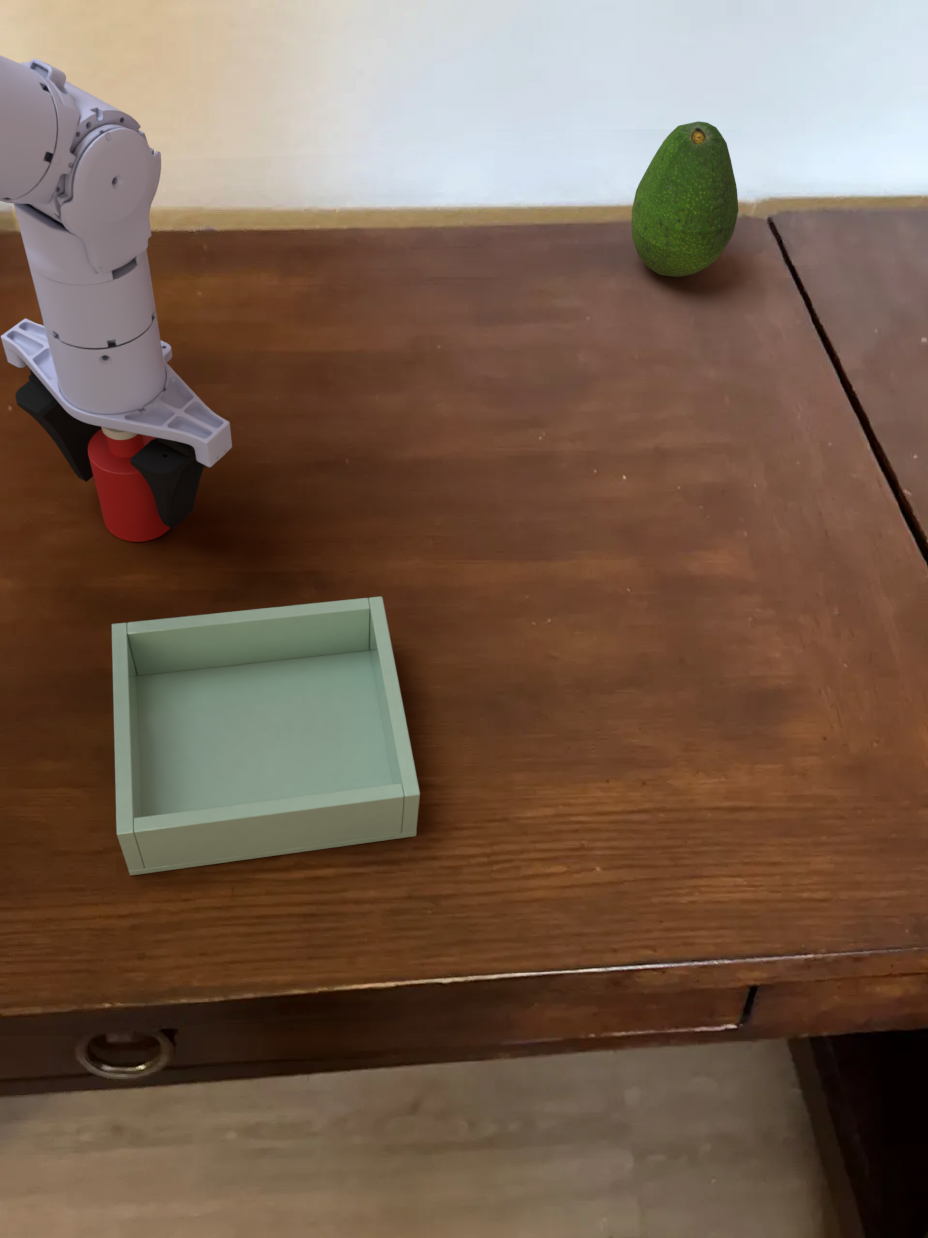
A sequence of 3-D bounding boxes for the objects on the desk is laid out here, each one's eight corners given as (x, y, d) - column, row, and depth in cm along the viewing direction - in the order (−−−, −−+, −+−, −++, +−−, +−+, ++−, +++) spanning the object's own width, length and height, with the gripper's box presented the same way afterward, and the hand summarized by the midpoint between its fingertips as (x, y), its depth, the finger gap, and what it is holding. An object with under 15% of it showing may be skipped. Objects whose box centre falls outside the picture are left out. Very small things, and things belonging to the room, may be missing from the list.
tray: (129, 876, 61) (116, 834, 57) (123, 671, 68) (111, 623, 65) (416, 836, 63) (420, 794, 60) (380, 643, 71) (382, 595, 67)
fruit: (599, 255, 95) (627, 112, 85) (677, 227, 98) (712, 86, 88) (662, 312, 91) (699, 169, 82) (741, 282, 94) (785, 140, 85)
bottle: (104, 545, 74) (80, 448, 67) (103, 492, 76) (80, 394, 70) (178, 538, 74) (162, 442, 68) (174, 486, 77) (158, 389, 70)
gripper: (259, 326, 63) (272, 503, 74) (47, 225, 67) (88, 407, 78) (172, 402, 59) (199, 577, 70) (-49, 290, 63) (9, 472, 74)
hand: (136, 493), depth 74 cm, fingers open, 6 cm apart
